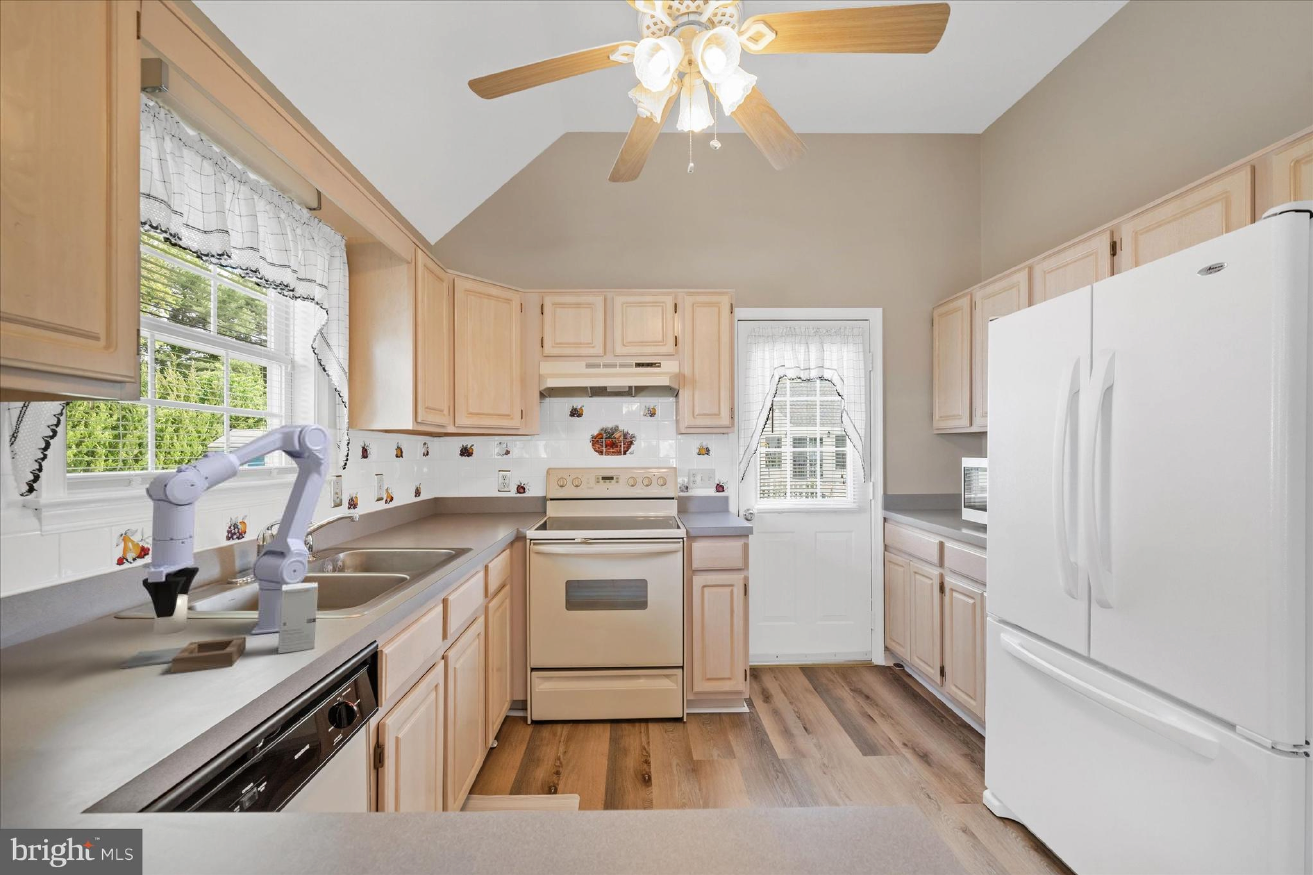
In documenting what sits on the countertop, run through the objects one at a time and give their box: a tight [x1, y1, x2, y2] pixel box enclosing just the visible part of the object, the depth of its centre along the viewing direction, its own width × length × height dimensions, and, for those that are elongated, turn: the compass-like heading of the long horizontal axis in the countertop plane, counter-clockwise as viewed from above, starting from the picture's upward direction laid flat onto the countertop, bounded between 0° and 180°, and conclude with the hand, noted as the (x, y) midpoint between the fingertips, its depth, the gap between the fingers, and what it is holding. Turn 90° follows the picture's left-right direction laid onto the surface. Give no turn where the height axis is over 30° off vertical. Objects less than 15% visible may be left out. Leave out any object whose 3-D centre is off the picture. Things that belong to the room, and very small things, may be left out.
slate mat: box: [120, 646, 186, 669], centre depth 99 cm, size 7×7×1 cm
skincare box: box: [277, 581, 319, 654], centre depth 105 cm, size 6×4×12 cm
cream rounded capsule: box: [153, 594, 189, 636], centre depth 99 cm, size 4×4×6 cm
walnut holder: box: [171, 636, 247, 675], centre depth 98 cm, size 8×8×2 cm
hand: (170, 612), depth 99 cm, fingers closed on cream rounded capsule, 4 cm apart
